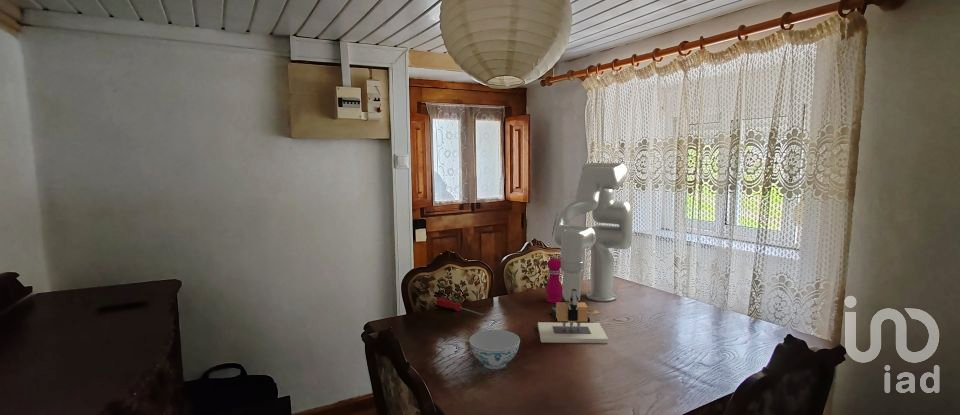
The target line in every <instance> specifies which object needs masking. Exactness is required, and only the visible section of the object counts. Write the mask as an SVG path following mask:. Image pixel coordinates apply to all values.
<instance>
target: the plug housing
mask: <svg viewBox="0 0 960 415" xmlns="http://www.w3.org/2000/svg"><path fill="white" fill-rule="evenodd" d="M571 303H572V302H571ZM555 307H556V317H555V319H556V320H557V322H560V321H568V309H569V302H566V301H564V302H562V301H561V302H556V303H555ZM577 307H578V320H577V321H578V322H587V318H588V317H589V316H588V315H599V314H601V313H600V311H599V309H588V308H589V307H588V306H587V304H586V302H583V301H581V302H579V301H577Z"/></svg>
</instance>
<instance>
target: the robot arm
mask: <svg viewBox="0 0 960 415" xmlns="http://www.w3.org/2000/svg"><path fill="white" fill-rule="evenodd" d="M627 173H628V170H627V167H626V166H625V164H624V163H621V162H588V163H586V164H584V165H582V167H581V173H580V176H579V180H578V185H577V189H576V194H575V199H574V200H572V202H571V203H569V204H568V205H567V206H565V208H563V209H562V211H561V212H560V214H559V216H557V219H556V223H555V227H554V233H553V235H554V237H553V238H554V242H555V243H556V244H557V245H558V246H559V247H561V248H560V261H561V268H560V272H561V271H562V272H563V273H562V284H561V286H562V297H563V299H564V302H569V309H568V321H577V320H578V307H577V302H579V301H580V300H581V273H583V272H584V262H585V258H584V257H585V256H584V255H585V254H584V253H585V250H584V249H590V285H589V286H590V288H589V289H590V291H587V292H586V297H587V299H589V300H591V301H596V302H603V303H604V302H606V303H607V302H613V301H615V300H617V297H618V296H617V294H616V293H614V270H615V268H614V267H615V265H614V262H615V258H614V255H613V254H612V252H611V250H610V249H616V250H627V249H629V248H630V247H631V246H632V242H633V211H632V207H631V205H630V203H629V202H626V201H622V200H621V201H618V200H614V195H613V193H614V192H613V191H614V190H617V189H619V188H620V187H621V186H622V185H623V184H624V183H625V181H626V179H627ZM589 212H591V214H592V219H593V221H594V222H595V223H598V224H599V223H600V225H593V226H592V227H590V226H582V225H581V226H579V225H570V224H569V222H571V221H572V220H573V219H575V218H577V217H579V216H581V215H584V214H587V213H589ZM568 224H569V225H568ZM602 224H603V225H602ZM605 224H608V225H605ZM609 224H610V225H609ZM612 224H613V225H612ZM571 302H572V303H571Z"/></svg>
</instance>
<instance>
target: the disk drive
mask: <svg viewBox="0 0 960 415" xmlns="http://www.w3.org/2000/svg"><path fill="white" fill-rule="evenodd" d="M550 313H551V315H552V316H554V317H555V318H556V306H555V307H554V306H552V307H551V308H550ZM563 322H565V323H570V322H572V323H578V321H559V323H563ZM579 323H591V318H590V317H589V316H588V318H587V322H579Z"/></svg>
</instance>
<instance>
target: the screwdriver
mask: <svg viewBox="0 0 960 415" xmlns="http://www.w3.org/2000/svg"><path fill="white" fill-rule="evenodd" d="M436 305H437V306H440V307H442V308H446V309H454V310H455V311H456V312H460V311H461V310H464V311H467V312H471V313H473V314H475V315H476V314H477V315H481V316H484V315H485V314H484V313H480V312H476V311H474V310H471V309H468V308H463V306H462V305H463V304H462V303H459V302H458V303H456V302H454V301H452V300H450V299H447V298H443V297H438V298H437V299H436Z"/></svg>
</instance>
